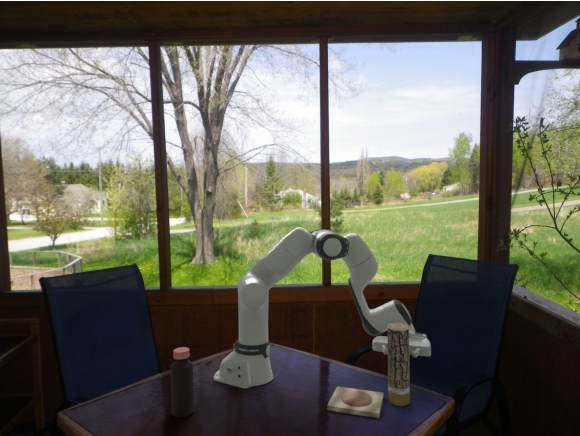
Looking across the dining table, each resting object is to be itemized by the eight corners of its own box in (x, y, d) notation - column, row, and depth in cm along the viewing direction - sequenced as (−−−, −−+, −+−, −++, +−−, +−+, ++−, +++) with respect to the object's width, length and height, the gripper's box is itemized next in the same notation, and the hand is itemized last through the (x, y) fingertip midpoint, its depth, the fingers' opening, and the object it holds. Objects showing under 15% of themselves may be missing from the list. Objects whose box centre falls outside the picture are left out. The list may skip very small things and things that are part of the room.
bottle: (182, 420, 121) (180, 355, 120) (167, 414, 125) (165, 351, 124) (198, 410, 127) (197, 348, 126) (183, 405, 130) (182, 344, 130)
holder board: (327, 410, 126) (327, 404, 125) (337, 390, 139) (337, 385, 139) (379, 418, 120) (378, 412, 120) (384, 397, 133) (384, 391, 133)
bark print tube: (410, 408, 126) (410, 329, 125) (388, 406, 127) (387, 328, 127) (409, 397, 132) (408, 323, 132) (387, 396, 134) (387, 322, 133)
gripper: (374, 330, 153) (369, 341, 140) (430, 334, 146) (431, 347, 133) (374, 346, 153) (369, 359, 140) (430, 351, 146) (431, 366, 133)
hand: (399, 353), depth 136 cm, fingers open, 8 cm apart
